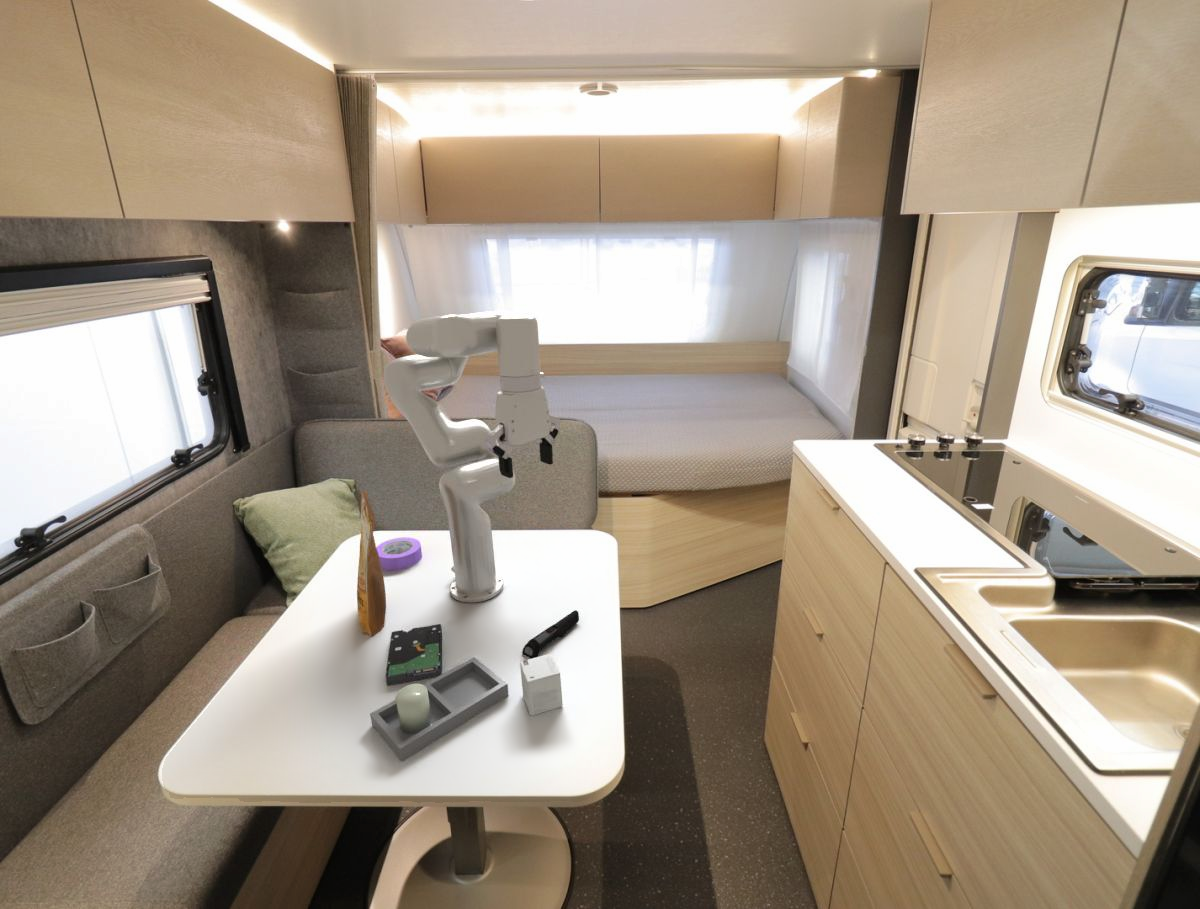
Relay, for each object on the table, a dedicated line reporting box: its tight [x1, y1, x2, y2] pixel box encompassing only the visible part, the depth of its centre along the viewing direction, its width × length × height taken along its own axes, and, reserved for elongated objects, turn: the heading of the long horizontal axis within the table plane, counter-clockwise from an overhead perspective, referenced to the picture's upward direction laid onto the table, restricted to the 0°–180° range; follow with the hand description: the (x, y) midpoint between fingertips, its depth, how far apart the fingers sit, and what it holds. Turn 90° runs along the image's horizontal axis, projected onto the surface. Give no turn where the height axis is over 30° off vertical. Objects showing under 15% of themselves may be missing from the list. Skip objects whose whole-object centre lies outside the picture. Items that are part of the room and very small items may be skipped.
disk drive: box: [385, 623, 443, 687], centre depth 122 cm, size 10×3×15 cm
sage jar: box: [395, 683, 432, 734], centre depth 104 cm, size 5×5×6 cm
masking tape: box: [376, 536, 423, 571], centre depth 161 cm, size 12×12×4 cm
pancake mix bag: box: [356, 488, 387, 638], centre depth 132 cm, size 7×19×28 cm, turn 18°
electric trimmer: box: [521, 609, 580, 659], centre depth 127 cm, size 4×16×3 cm, turn 142°
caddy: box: [369, 656, 509, 762], centre depth 108 cm, size 21×11×3 cm, turn 134°
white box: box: [519, 653, 564, 716], centre depth 108 cm, size 6×6×7 cm
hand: (527, 469), depth 118 cm, fingers open, 9 cm apart
